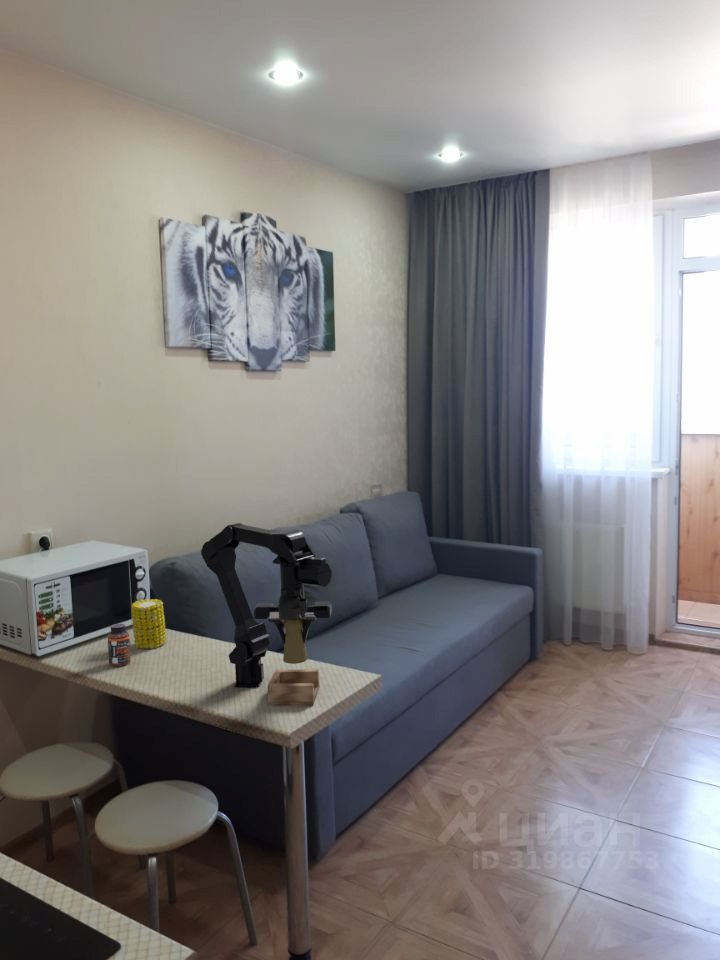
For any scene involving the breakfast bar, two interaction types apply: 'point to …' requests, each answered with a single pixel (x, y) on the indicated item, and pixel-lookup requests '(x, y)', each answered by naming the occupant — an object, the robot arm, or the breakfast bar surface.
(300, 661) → the cork
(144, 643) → the food
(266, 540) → the robot arm
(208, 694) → the breakfast bar surface
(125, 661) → the supplement bottle
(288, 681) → the wooden box
